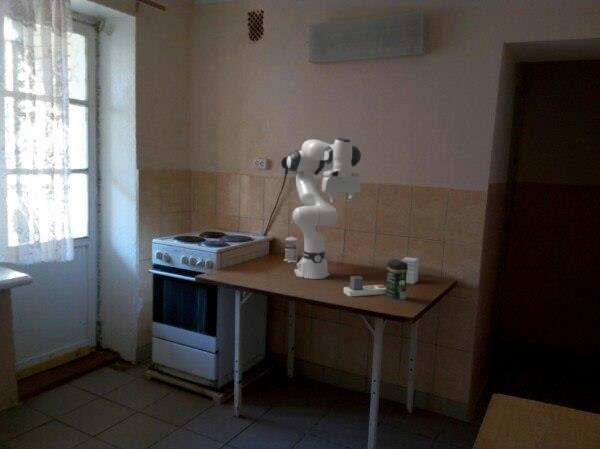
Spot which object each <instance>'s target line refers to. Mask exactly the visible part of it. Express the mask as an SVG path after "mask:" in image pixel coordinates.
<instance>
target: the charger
mask: <svg viewBox="0 0 600 449" xmlns="http://www.w3.org/2000/svg"><path fill="white" fill-rule="evenodd" d="M349 281H350V282H349V287H350V289H352V290H353V291H356V290H363V286H364V278H363V277H362V276H359V275H356V276H350V280H349Z"/></svg>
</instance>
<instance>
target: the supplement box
mask: <svg viewBox="0 0 600 449" xmlns="http://www.w3.org/2000/svg"><path fill="white" fill-rule="evenodd" d="M401 261H402V262H405V263H407V265H408V270H407V275H406V284H411V285H414V284H415V283H417V282H418V281H419V280H418V279H419V263H420V259H419V258H417V257H410V256H409V257H408V256H405V257H404V258H402V259H401Z"/></svg>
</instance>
